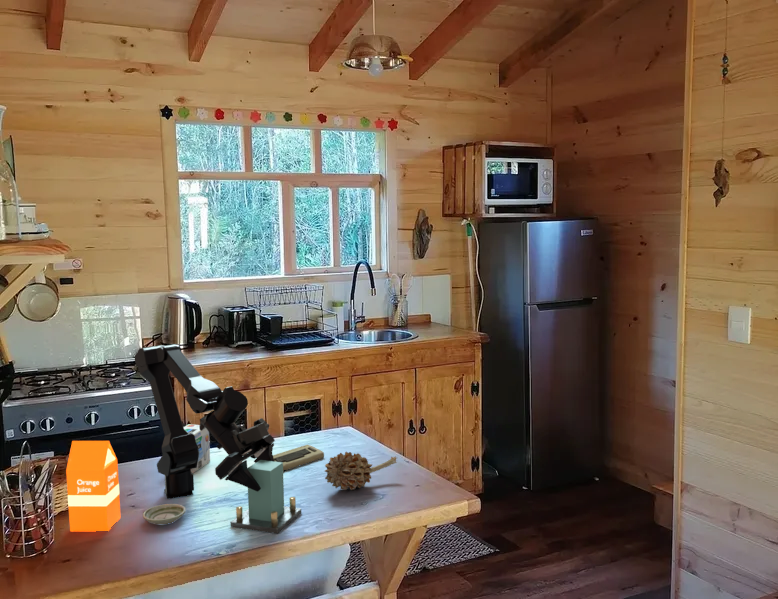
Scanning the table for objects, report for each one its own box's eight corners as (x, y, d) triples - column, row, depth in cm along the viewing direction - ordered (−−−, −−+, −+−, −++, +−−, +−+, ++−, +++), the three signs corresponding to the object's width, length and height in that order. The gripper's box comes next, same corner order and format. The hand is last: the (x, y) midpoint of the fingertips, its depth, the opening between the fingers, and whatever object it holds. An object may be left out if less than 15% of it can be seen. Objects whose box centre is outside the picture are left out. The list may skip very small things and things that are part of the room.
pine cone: (338, 501, 185) (337, 463, 184) (316, 490, 193) (316, 453, 191) (406, 480, 199) (405, 444, 198) (383, 471, 206) (383, 436, 205)
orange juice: (84, 517, 177) (79, 435, 175) (121, 517, 177) (116, 435, 175) (69, 531, 169) (63, 446, 167) (107, 532, 169) (102, 446, 167)
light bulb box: (194, 473, 206) (192, 435, 205) (172, 472, 208) (170, 434, 207) (211, 460, 217) (209, 424, 216) (189, 459, 218) (188, 423, 217)
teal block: (272, 521, 171) (270, 470, 169) (248, 518, 173) (247, 468, 171) (284, 511, 176) (282, 462, 175) (261, 508, 178) (260, 459, 177)
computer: (282, 473, 207) (282, 462, 206) (264, 467, 212) (264, 455, 212) (324, 459, 218) (324, 448, 218) (306, 453, 224) (306, 443, 223)
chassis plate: (277, 533, 167) (276, 515, 167) (230, 526, 171) (230, 509, 171) (301, 513, 178) (301, 496, 178) (257, 507, 182) (256, 490, 182)
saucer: (186, 510, 181) (185, 501, 181) (186, 526, 172) (185, 516, 171) (144, 515, 179) (143, 505, 178) (142, 532, 169) (141, 522, 169)
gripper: (224, 421, 164) (271, 475, 162) (266, 401, 182) (308, 449, 179) (195, 452, 168) (240, 506, 166) (239, 429, 185) (280, 477, 183)
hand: (269, 483), depth 173 cm, fingers open, 9 cm apart
